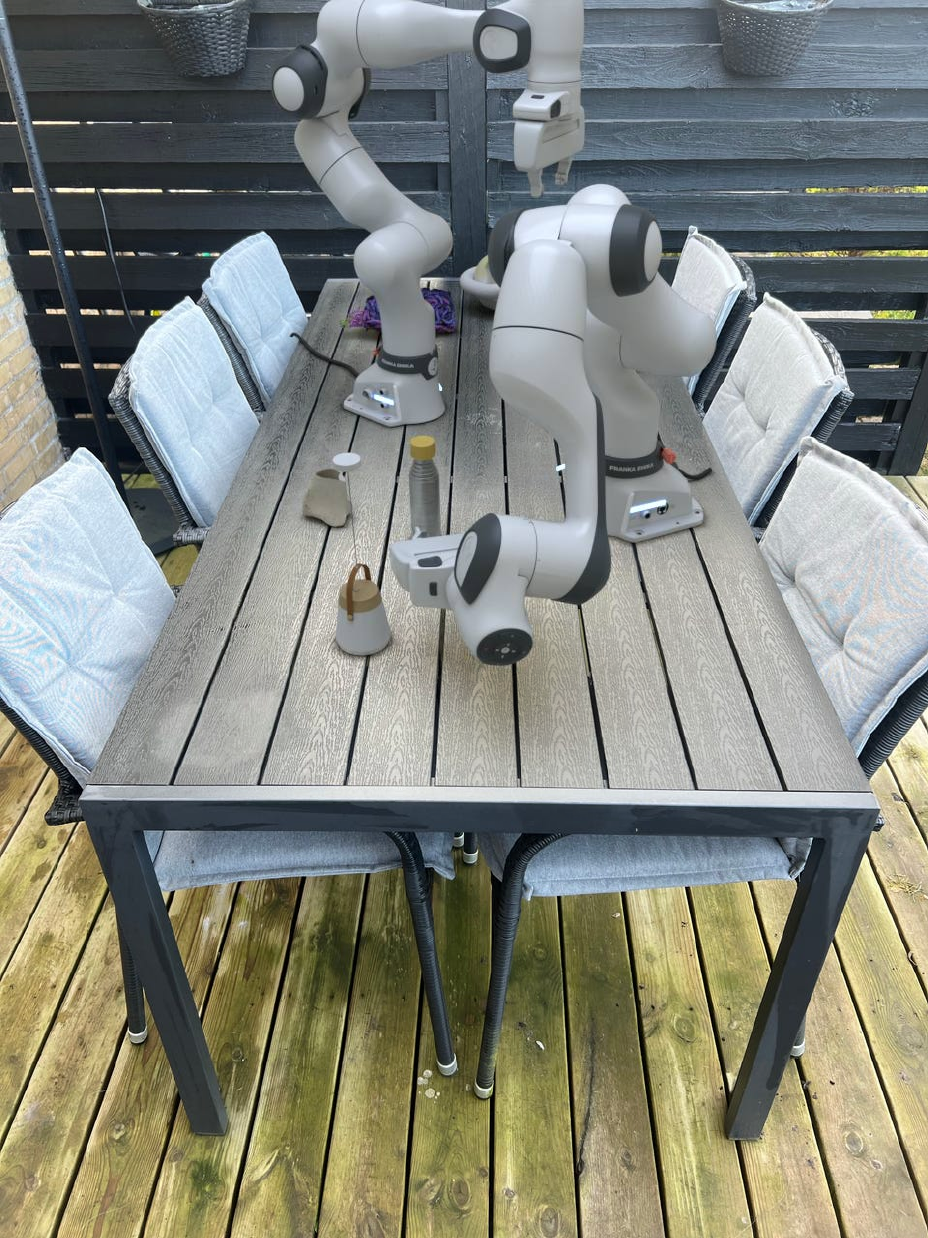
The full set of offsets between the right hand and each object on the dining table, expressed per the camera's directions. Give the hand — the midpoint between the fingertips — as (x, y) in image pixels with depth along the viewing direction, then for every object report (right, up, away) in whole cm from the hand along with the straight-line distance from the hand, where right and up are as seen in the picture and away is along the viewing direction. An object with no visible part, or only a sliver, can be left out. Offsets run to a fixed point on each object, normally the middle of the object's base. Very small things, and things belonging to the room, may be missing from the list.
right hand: (451, 526), depth 135 cm
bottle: (-5, 0, +26) cm, 26 cm away
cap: (-5, +15, +14) cm, 21 cm away
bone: (-23, +4, +32) cm, 39 cm away
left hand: (+17, +61, +26) cm, 68 cm away
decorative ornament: (-15, +60, +104) cm, 121 cm away
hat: (+12, +71, +118) cm, 138 cm away
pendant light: (-13, -17, +4) cm, 22 cm away
